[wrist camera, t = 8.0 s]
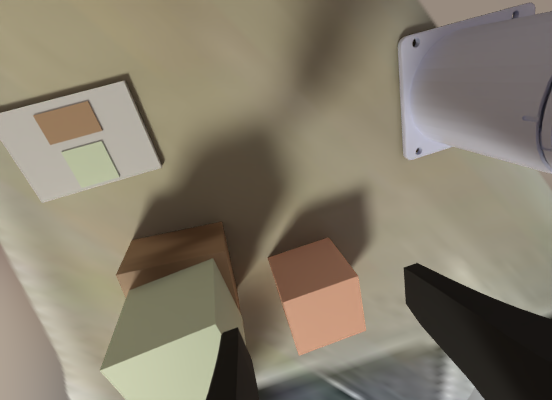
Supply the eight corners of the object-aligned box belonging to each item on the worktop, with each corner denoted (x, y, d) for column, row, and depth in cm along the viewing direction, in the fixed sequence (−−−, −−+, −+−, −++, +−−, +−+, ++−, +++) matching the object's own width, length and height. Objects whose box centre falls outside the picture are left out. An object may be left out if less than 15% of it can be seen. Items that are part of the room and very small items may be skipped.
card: (125, 80, 16) (123, 80, 15) (162, 165, 18) (161, 168, 17) (-10, 115, 15) (-17, 117, 15) (45, 200, 17) (41, 203, 17)
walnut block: (221, 220, 20) (224, 251, 17) (236, 287, 23) (242, 326, 19) (132, 238, 19) (115, 275, 16) (158, 306, 22) (148, 350, 18)
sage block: (213, 258, 17) (215, 323, 12) (242, 317, 19) (253, 391, 14) (129, 290, 16) (99, 370, 12) (168, 346, 19) (156, 433, 14)
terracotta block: (328, 236, 23) (358, 275, 18) (337, 284, 25) (366, 330, 20) (267, 257, 22) (282, 302, 18) (282, 304, 24) (298, 355, 20)
